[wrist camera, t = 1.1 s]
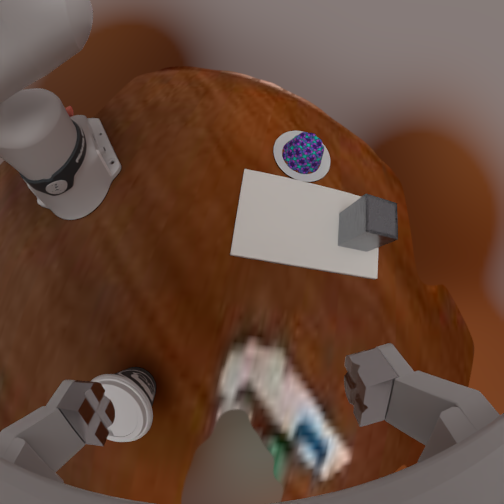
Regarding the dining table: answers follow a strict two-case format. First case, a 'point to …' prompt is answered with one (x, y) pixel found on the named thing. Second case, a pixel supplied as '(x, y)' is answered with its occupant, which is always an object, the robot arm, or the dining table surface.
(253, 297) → the dining table surface
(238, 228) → the placemat
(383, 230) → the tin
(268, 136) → the dining table surface
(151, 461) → the dining table surface
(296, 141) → the pudding
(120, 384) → the coffee cup
